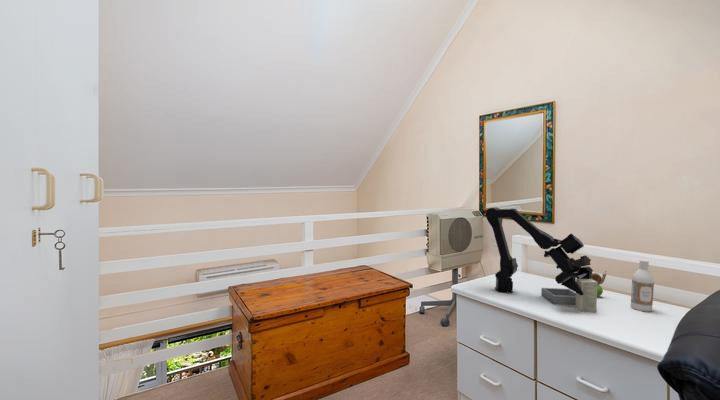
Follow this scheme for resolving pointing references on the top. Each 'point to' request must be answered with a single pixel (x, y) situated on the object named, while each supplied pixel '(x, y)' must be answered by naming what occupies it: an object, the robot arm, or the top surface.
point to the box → (559, 296)
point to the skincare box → (586, 295)
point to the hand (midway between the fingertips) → (588, 293)
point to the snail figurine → (600, 280)
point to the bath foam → (642, 288)
